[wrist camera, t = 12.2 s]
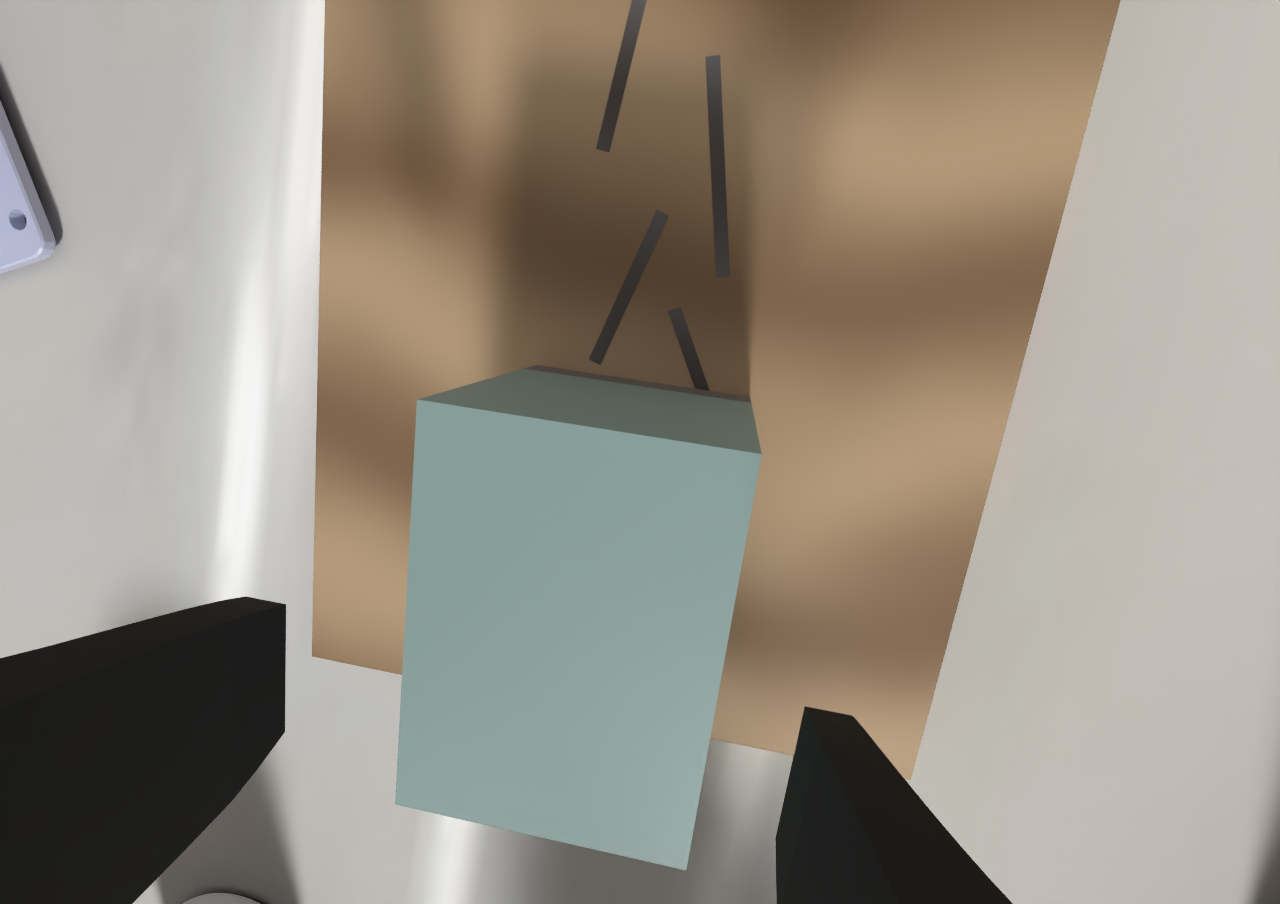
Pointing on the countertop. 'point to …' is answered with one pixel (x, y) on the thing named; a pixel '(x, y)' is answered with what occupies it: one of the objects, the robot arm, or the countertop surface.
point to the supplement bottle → (220, 899)
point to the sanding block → (572, 604)
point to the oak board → (706, 286)
